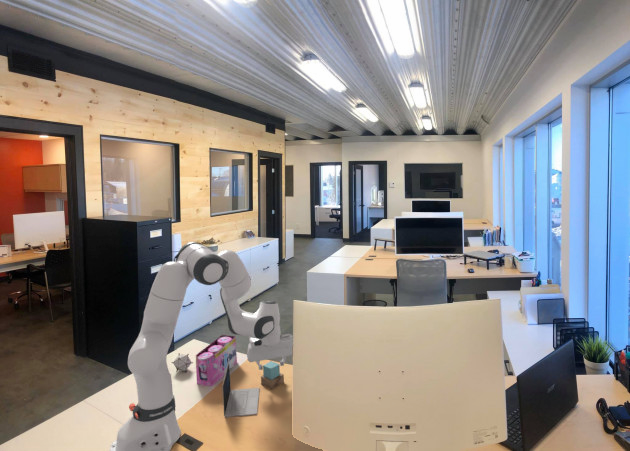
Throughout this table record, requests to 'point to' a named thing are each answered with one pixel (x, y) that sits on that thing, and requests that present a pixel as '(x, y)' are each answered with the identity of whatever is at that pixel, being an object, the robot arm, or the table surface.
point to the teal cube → (271, 370)
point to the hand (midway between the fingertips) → (271, 367)
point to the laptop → (239, 399)
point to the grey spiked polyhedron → (182, 362)
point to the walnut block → (272, 381)
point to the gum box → (215, 360)
